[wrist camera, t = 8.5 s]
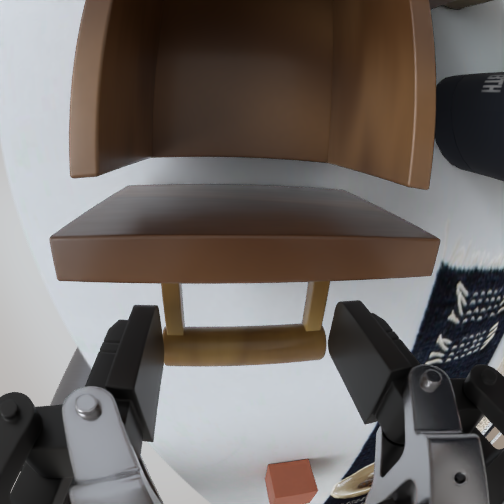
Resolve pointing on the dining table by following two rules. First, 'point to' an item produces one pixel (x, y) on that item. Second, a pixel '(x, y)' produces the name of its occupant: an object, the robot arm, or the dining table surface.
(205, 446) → the dining table surface
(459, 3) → the pillar candle
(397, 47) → the drawer
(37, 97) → the dining table surface
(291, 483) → the block
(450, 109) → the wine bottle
